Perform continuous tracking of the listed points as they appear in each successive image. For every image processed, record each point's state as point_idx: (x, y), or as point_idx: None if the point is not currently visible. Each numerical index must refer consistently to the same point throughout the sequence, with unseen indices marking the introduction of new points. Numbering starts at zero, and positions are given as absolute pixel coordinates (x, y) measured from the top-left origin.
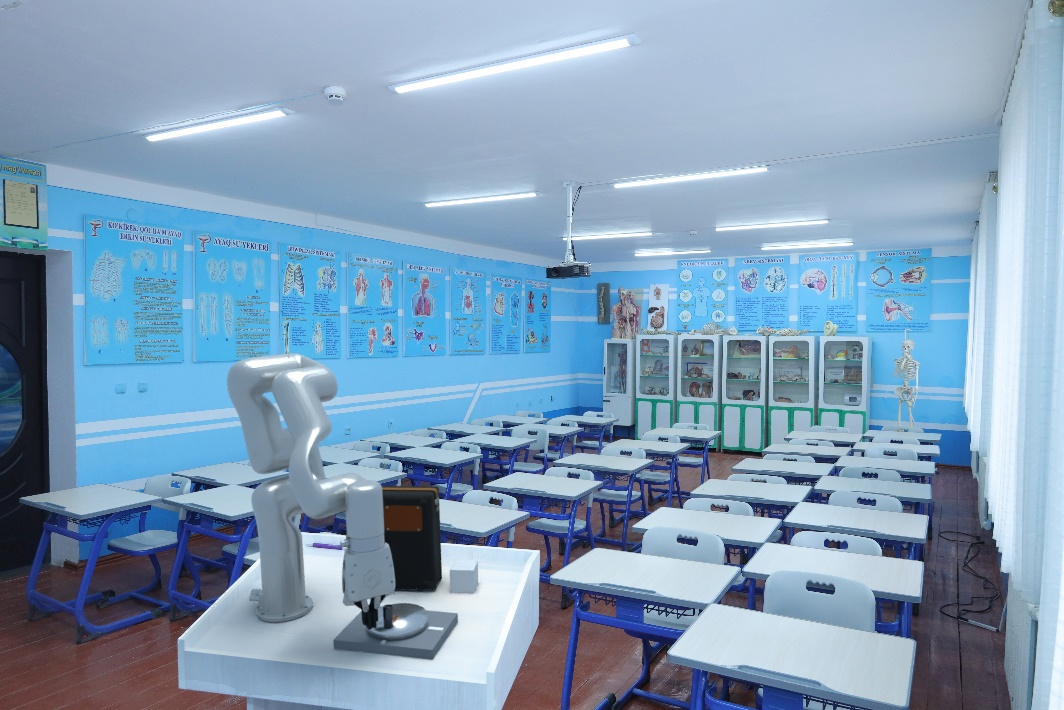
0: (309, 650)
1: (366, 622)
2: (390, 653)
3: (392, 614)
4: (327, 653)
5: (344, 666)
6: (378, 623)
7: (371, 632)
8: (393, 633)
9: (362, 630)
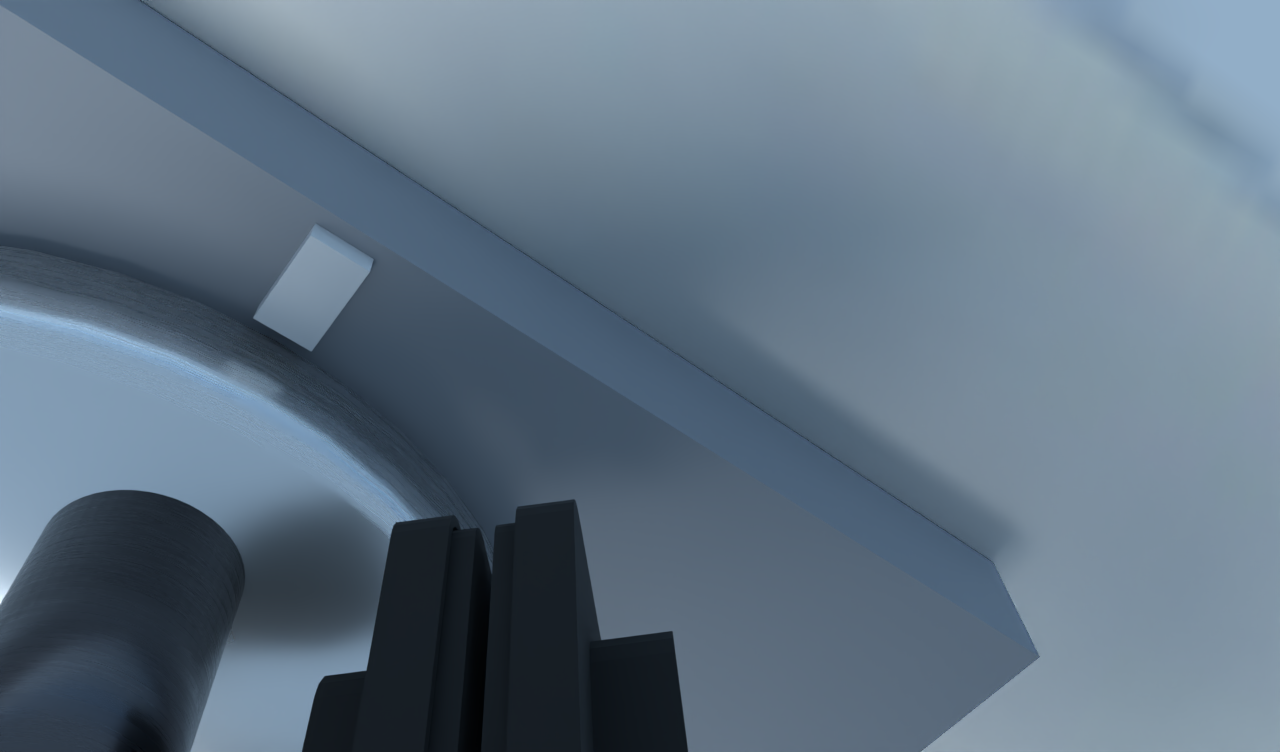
0: (1250, 631)
1: (622, 667)
2: (235, 74)
3: None
4: (1102, 495)
5: (1041, 53)
6: None
7: None
8: (51, 333)
9: None
